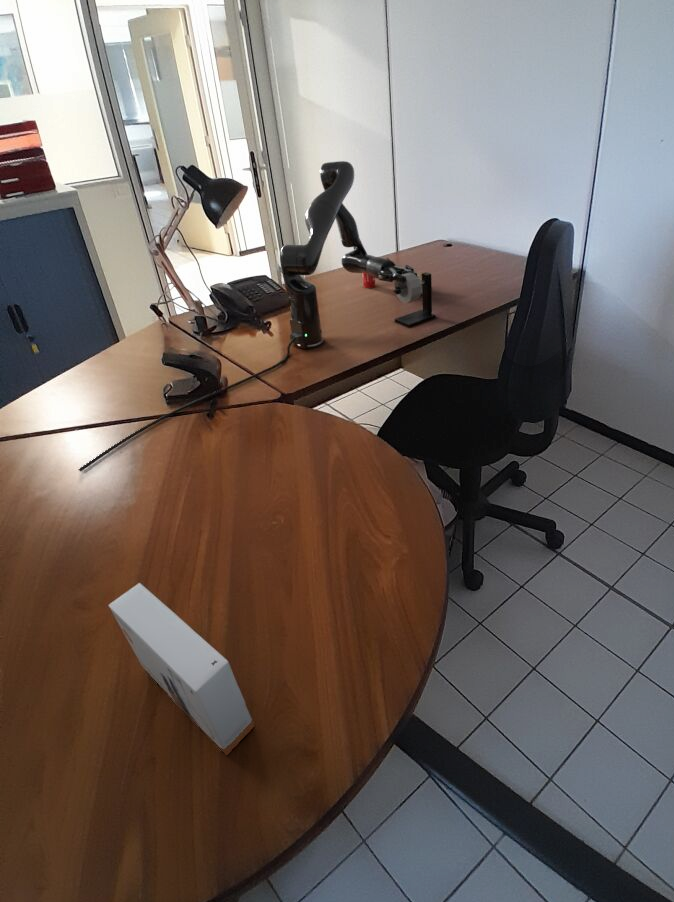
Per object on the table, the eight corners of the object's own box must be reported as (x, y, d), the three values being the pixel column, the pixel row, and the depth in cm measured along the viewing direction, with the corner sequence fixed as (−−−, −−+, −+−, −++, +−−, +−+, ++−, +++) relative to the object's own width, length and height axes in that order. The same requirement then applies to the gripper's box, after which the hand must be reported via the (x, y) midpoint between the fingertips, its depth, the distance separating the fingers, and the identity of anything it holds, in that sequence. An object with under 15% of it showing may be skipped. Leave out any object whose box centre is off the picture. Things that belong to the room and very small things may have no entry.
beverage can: (370, 289, 234) (368, 261, 227) (361, 287, 236) (358, 259, 230) (377, 285, 237) (376, 258, 231) (368, 283, 240) (366, 256, 234)
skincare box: (140, 673, 83) (105, 603, 75) (172, 647, 87) (142, 578, 78) (224, 761, 72) (194, 691, 63) (256, 728, 75) (233, 657, 67)
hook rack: (404, 329, 194) (402, 285, 186) (390, 323, 199) (387, 280, 191) (436, 317, 202) (436, 275, 194) (422, 312, 208) (421, 270, 200)
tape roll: (412, 305, 191) (411, 278, 186) (394, 299, 197) (393, 273, 192) (421, 302, 194) (421, 275, 189) (404, 296, 200) (403, 270, 195)
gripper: (364, 262, 195) (394, 272, 184) (395, 254, 203) (426, 263, 192) (366, 282, 199) (395, 293, 188) (396, 274, 207) (426, 283, 195)
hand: (410, 278), depth 190 cm, fingers closed on tape roll, 4 cm apart
